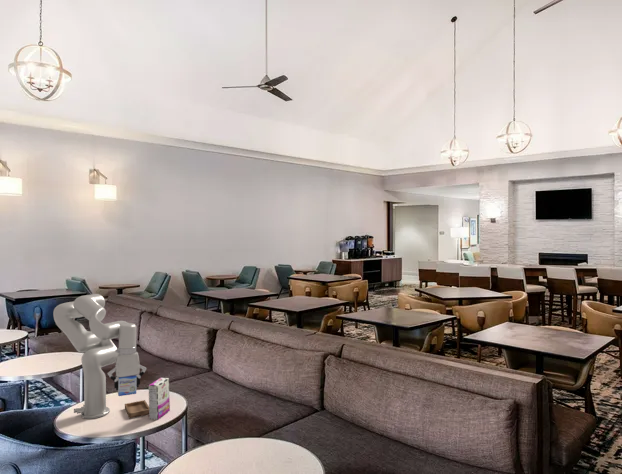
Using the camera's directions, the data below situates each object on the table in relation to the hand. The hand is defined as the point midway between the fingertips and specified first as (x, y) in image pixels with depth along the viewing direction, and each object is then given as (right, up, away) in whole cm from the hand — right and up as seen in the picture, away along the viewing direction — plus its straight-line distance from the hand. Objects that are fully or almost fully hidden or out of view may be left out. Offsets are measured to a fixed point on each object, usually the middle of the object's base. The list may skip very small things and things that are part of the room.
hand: (127, 387), depth 210 cm
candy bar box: (+12, -16, +9) cm, 22 cm away
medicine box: (0, -3, 0) cm, 3 cm away
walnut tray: (0, -16, +13) cm, 21 cm away
